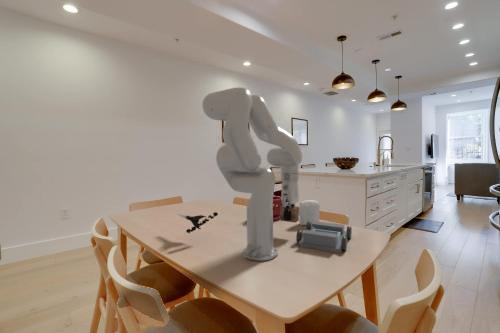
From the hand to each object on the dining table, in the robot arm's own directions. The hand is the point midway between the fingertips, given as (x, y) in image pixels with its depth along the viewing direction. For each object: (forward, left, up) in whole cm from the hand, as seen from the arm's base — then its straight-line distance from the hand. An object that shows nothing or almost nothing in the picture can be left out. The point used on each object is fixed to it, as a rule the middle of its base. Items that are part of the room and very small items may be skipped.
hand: (289, 218), depth 108 cm
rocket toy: (-21, +39, -8) cm, 45 cm away
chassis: (+1, -15, -8) cm, 17 cm away
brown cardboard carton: (0, 0, -1) cm, 1 cm away
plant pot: (+23, +19, -8) cm, 31 cm away
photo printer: (+21, -3, -8) cm, 23 cm away
